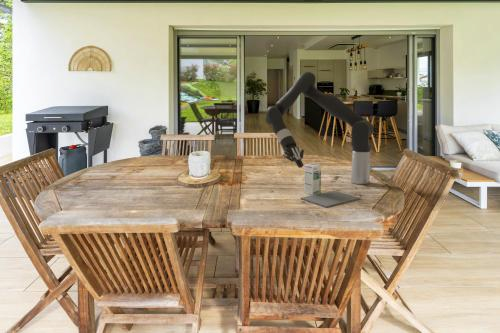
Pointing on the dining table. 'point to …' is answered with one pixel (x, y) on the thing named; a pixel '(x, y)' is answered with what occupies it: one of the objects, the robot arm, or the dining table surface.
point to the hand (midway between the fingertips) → (301, 166)
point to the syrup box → (312, 179)
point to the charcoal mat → (330, 198)
